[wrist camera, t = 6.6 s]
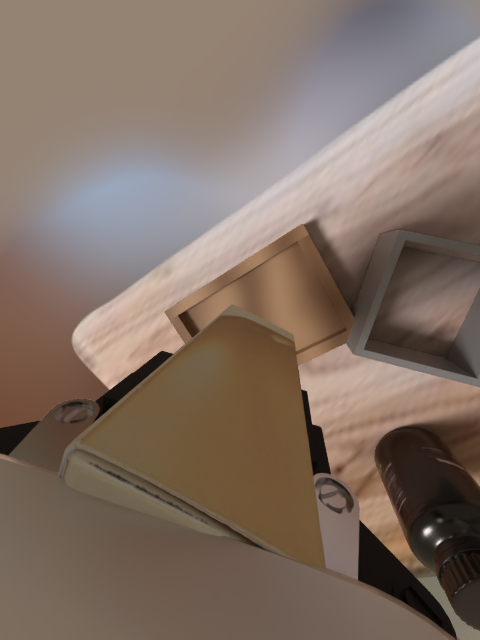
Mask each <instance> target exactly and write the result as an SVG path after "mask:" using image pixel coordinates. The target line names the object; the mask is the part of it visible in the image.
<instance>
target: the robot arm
mask: <svg viewBox="0 0 480 640" xmlns="http://www.w3.org/2000/svg"><path fill="white" fill-rule="evenodd" d="M172 355H173V354H172V353H168V352H164V351H161V352H159V353H158V354H157V355H156V356H154V357H153V358H152V359H151V360H149V361H148V362H147V363H145V364H144V365H143V366H142V367H140V368H139V369H138V370H137V371H135V372H134V373H131V374H130V375H129V376H127V377H126V378H125V379H123V380H122V381H121V382H120V383H118V384H117V385H116V386H114V387H113V388H112V389H111V390H109V391H108V392H107V393H105V394H104V395H103V396H102V397H100V398H99V399H98V400H96V401H93V400H89V399H71V400H67V401H64V402H62V403H60V404H58V405H56V406H55V407H53V408H52V409H51V410H50V411H49V412H48V413H47V414H46V415H45V417H44V418H43V419H42V420H41V421H36V422H31V423H25V424H20V425H15V426H10V427H4V428H0V640H460V639H459V638H458V637H457V636H456V633H455V630H454V628H453V626H452V624H451V621H450V619H449V617H448V616H447V614H446V613H445V611H444V609H443V608H442V606H441V605H440V604H439V602H438V601H437V600H436V599H435V598H434V596H433V595H432V594H431V593H430V592H429V591H428V590H427V589H426V588H425V587H424V586H423V585H422V584H421V583H420V582H419V581H418V580H417V579H416V578H415V576H414V575H413V574H412V573H411V572H410V571H409V570H408V569H407V568H406V567H405V566H404V565H403V564H402V563H401V562H400V561H399V560H398V559H397V558H396V557H395V556H394V555H393V554H392V553H391V552H390V551H389V550H388V549H387V548H386V547H385V546H384V545H383V544H382V543H381V541H380V540H379V539H378V538H377V537H376V536H375V535H374V534H373V533H372V532H371V531H370V530H369V529H368V528H367V527H366V526H365V525H364V524H363V523H362V522H361V521H360V520H359V514H360V508H359V502H358V500H357V497H356V495H355V494H354V492H353V491H352V490H351V488H350V487H349V486H348V485H347V484H346V483H344V482H343V481H342V480H340V479H339V478H337V477H335V476H333V475H331V472H330V467H329V462H328V457H327V452H326V448H325V443H324V438H323V433H322V429H321V427H319V426H316V425H313V424H312V421H311V414H310V408H309V401H308V395H307V391H304V390H301V392H302V399H303V407H304V415H305V420H306V429H307V435H308V441H309V449H310V456H311V463H312V470H313V477H314V484H315V491H316V498H317V506H318V513H319V523H320V529H321V535H322V542H323V548H324V556H325V564H326V568H323V567H319V566H315V565H312V564H308V563H305V562H301V561H298V560H295V559H291V558H288V557H285V556H281V555H278V554H276V553H273V552H270V551H268V550H265V549H263V548H260V547H257V546H254V545H251V544H248V543H245V542H242V541H239V540H236V539H233V538H230V537H227V536H215V535H211V534H207V533H203V532H199V531H196V530H193V529H190V528H187V527H184V526H181V525H178V524H175V523H172V522H169V521H166V520H163V519H160V518H157V517H154V516H151V515H148V514H145V513H142V512H139V511H136V510H132V509H129V508H126V507H123V506H120V505H118V504H115V503H112V502H109V501H106V500H103V499H100V498H98V497H95V496H92V495H89V494H86V493H83V492H80V491H77V490H75V489H73V488H71V487H69V486H68V485H66V483H65V481H64V479H63V478H60V477H57V476H58V473H59V469H60V466H61V462H62V458H63V455H64V452H65V449H66V448H67V446H68V445H69V444H70V443H71V442H72V441H73V440H74V439H75V438H76V437H78V436H79V435H80V434H81V433H82V432H83V431H85V430H86V429H87V428H88V427H89V426H90V425H92V424H93V423H94V422H95V421H96V420H97V419H99V418H100V417H101V416H102V415H103V414H104V413H106V412H107V411H108V410H109V409H110V408H111V407H113V406H114V405H115V404H116V403H117V402H118V401H120V400H121V399H122V398H123V397H124V396H125V395H127V394H128V393H129V392H130V391H131V390H132V389H134V388H135V387H136V386H137V385H138V384H139V383H141V382H142V381H143V380H144V379H145V378H146V377H148V376H149V375H150V374H151V373H152V372H153V371H155V370H156V369H157V368H158V367H159V366H160V365H162V364H163V363H164V362H165V361H166V360H167V359H168V358H170V357H171V356H172Z"/></svg>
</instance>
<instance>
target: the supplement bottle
mask: <svg viewBox="0 0 480 640" xmlns="http://www.w3.org/2000/svg"><path fill="white" fill-rule="evenodd" d="M375 463H376V466H377V469H378V471H379V474H380V477H381V479H382V481H383V484H384V486H385V489H386V491H387V494H388V496H389V499H390V501H391V504H392V506H393V509H394V511H395V513H396V516H397V518H398V521H399V523H400V526H401V528H402V531H403V533H404V536H405V538H406V540H407V543H408V545H409V547H410V549H411V551H412V552H413V554H414V555H415V556H416V558H417V559H418V560H419V561H420V562H421V563H422V564H423V565H424V566H425V567H427V568H428V569H429V570H430V571H432V572H433V573H435V574H436V576H437V578H438V580H439V583H440V585H441V587H442V588H443V590H444V591H445V593H446V595H447V597H448V599H449V602H450V604H451V606H452V607H453V609H454V611H455V613H456V614H457V615H458V616H459V617H460V619H461V620H462V621H464V622H466V624H467V625H469V626H472V627H473V628H474V629H477V630H480V486H479V485H478V484H477V482H476V481H475V480H474V479H473V477H472V476H471V475H470V474H469V473H468V471H467V470H466V469H465V468H464V466H463V465H462V464H461V463H460V462H459V460H458V459H457V458H456V457H455V455H454V454H453V453H452V452H451V451H450V449H449V448H448V447H447V446H446V445H445V444H444V443H443V441H442V440H440V439H439V438H438V437H437V436H435V435H434V434H432V433H430V432H427V431H425V430H421V429H416V428H404V429H398V430H395V431H393V432H390V433H389V434H387V435H386V436H384V437H383V438H382V439H381V440H380V442H379V443H378V445H377V447H376V450H375Z"/></svg>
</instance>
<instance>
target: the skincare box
mask: <svg viewBox="0 0 480 640" xmlns="http://www.w3.org/2000/svg"><path fill="white" fill-rule="evenodd" d="M57 477H60V478H63V479H64V481H65V483H66V485H68V486H69V487H71V488H73V489H75V490H77V491H80V492H83V493H86V494H89V495H92V496H95V497H98V498H100V499H103V500H106V501H109V502H112V503H115V504H118V505H120V506H123V507H126V508H129V509H132V510H136V511H139V512H142V513H145V514H148V515H151V516H154V517H157V518H160V519H163V520H166V521H169V522H172V523H175V524H178V525H181V526H184V527H187V528H190V529H193V530H196V531H199V532H203V533H207V534H211V535H215V536H227V537H230V538H233V539H236V540H239V541H242V542H245V543H248V544H251V545H254V546H257V547H260V548H263V549H265V550H268V551H270V552H273V553H276V554H278V555H281V556H285V557H288V558H291V559H295V560H298V561H301V562H305V563H308V564H312V565H315V566H319V567H323V568H326V564H325V556H324V548H323V542H322V535H321V529H320V523H319V513H318V506H317V498H316V491H315V484H314V477H313V470H312V463H311V456H310V449H309V441H308V435H307V429H306V420H305V415H304V407H303V399H302V392H301V385H300V378H299V370H298V364H297V356H296V349H295V341H294V335H293V334H292V333H290V332H288V331H286V330H284V329H282V328H280V327H278V326H276V325H274V324H272V323H270V322H269V321H267V320H265V319H263V318H261V317H259V316H257V315H254V314H252V313H250V312H248V311H246V310H244V309H242V308H240V307H238V306H236V305H230V306H229V307H228V308H226V309H225V310H224V311H223V312H222V313H221V314H220V315H218V316H217V317H216V318H215V319H214V320H213V321H211V322H210V323H209V324H208V325H207V326H206V327H205V328H203V329H202V330H201V331H200V332H199V333H198V334H196V335H195V336H194V337H193V338H192V339H191V340H189V341H188V342H187V343H186V344H185V345H184V346H182V347H181V348H180V349H179V350H178V351H177V352H175V353H174V354H173V355H172V356H171V357H170V358H168V359H167V360H166V361H165V362H164V363H163V364H162V365H160V366H159V367H158V368H157V369H156V370H155V371H153V372H152V373H151V374H150V375H149V376H148V377H146V378H145V379H144V380H143V381H142V382H141V383H139V384H138V385H137V386H136V387H135V388H134V389H132V390H131V391H130V392H129V393H128V394H127V395H125V396H124V397H123V398H122V399H121V400H120V401H118V402H117V403H116V404H115V405H114V406H113V407H111V408H110V409H109V410H108V411H107V412H106V413H104V414H103V415H102V416H101V417H100V418H99V419H97V420H96V421H95V422H94V423H93V424H92V425H90V426H89V427H88V428H87V429H86V430H85V431H83V432H82V433H81V434H80V435H79V436H78V437H76V438H75V439H74V440H73V441H72V442H71V443H70V444H69V445H68V446H67V448H66V449H65V452H64V455H63V458H62V462H61V466H60V469H59V473H58V476H57Z"/></svg>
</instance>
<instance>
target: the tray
mask: <svg viewBox="0 0 480 640" xmlns="http://www.w3.org/2000/svg"><path fill="white" fill-rule="evenodd" d="M230 305H236V306H238V307H240V308H242V309H244V310H246V311H248V312H250V313H252V314H254V315H257V316H259V317H261V318H263V319H265V320H267V321H269V322H270V323H272V324H274V325H276V326H278V327H280V328H282V329H284V330H286V331H288V332H290V333H292V334H293V335H294V341H295V349H296V356H297V364H298V365H300V364H302V363H305V362H307V361H309V360H311V359H313V358H315V357H317V356H319V355H322V354H324V353H326V352H328V351H330V350H332V349H334V348H336V347H339V346H341V345H343V344H345V343H347V340H348V337H349V334H350V332H351V329H352V326H353V323H354V321H355V318H354V316H353V314H352V313H351V311H350V309H349V307H348V305H347V303H346V302H345V300H344V298H343V296H342V294H341V292H340V291H339V289H338V287H337V285H336V283H335V281H334V280H333V278H332V276H331V274H330V272H329V270H328V269H327V267H326V265H325V263H324V261H323V259H322V258H321V256H320V254H319V252H318V250H317V248H316V247H315V245H314V243H313V241H312V239H311V237H310V236H309V234H308V232H307V230H306V228H305V226H304V225H303V224H301V225H300V226H298V227H297V228H295V229H293V230H292V231H290V232H289V233H287V234H286V235H284V236H282V237H281V238H279V239H278V240H276V241H275V242H273V243H271V244H270V245H268V246H267V247H265V248H264V249H262V250H260V251H259V252H257V253H256V254H254V255H253V256H251V257H249V258H248V259H246V260H245V261H243V262H242V263H240V264H238V265H237V266H235V267H234V268H232V269H231V270H229V271H227V272H226V273H224V274H223V275H221V276H220V277H218V278H216V279H215V280H213V281H212V282H210V283H209V284H207V285H205V286H204V287H202V288H201V289H199V290H198V291H196V292H194V293H193V294H191V295H190V296H188V297H187V298H185V299H183V300H182V301H180V302H179V303H177V304H176V305H174V306H173V307H171V308H169V309H168V310H166V311H165V314H166V315H167V317H168V318H169V320H170V321H171V323H172V324H173V326H174V327H175V329H176V330H177V332H178V334H179V335H180V337H181V338H182V340H183V341H184V343H185V344H186V343H187V342H188V341H189V340H191V339H192V338H193V337H194V336H195V335H196V334H198V333H199V332H200V331H201V330H202V329H203V328H205V327H206V326H207V325H208V324H209V323H210V322H211V321H213V320H214V319H215V318H216V317H217V316H218V315H220V314H221V313H222V312H223V311H224V310H225V309H226V308H228V307H229V306H230Z"/></svg>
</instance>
